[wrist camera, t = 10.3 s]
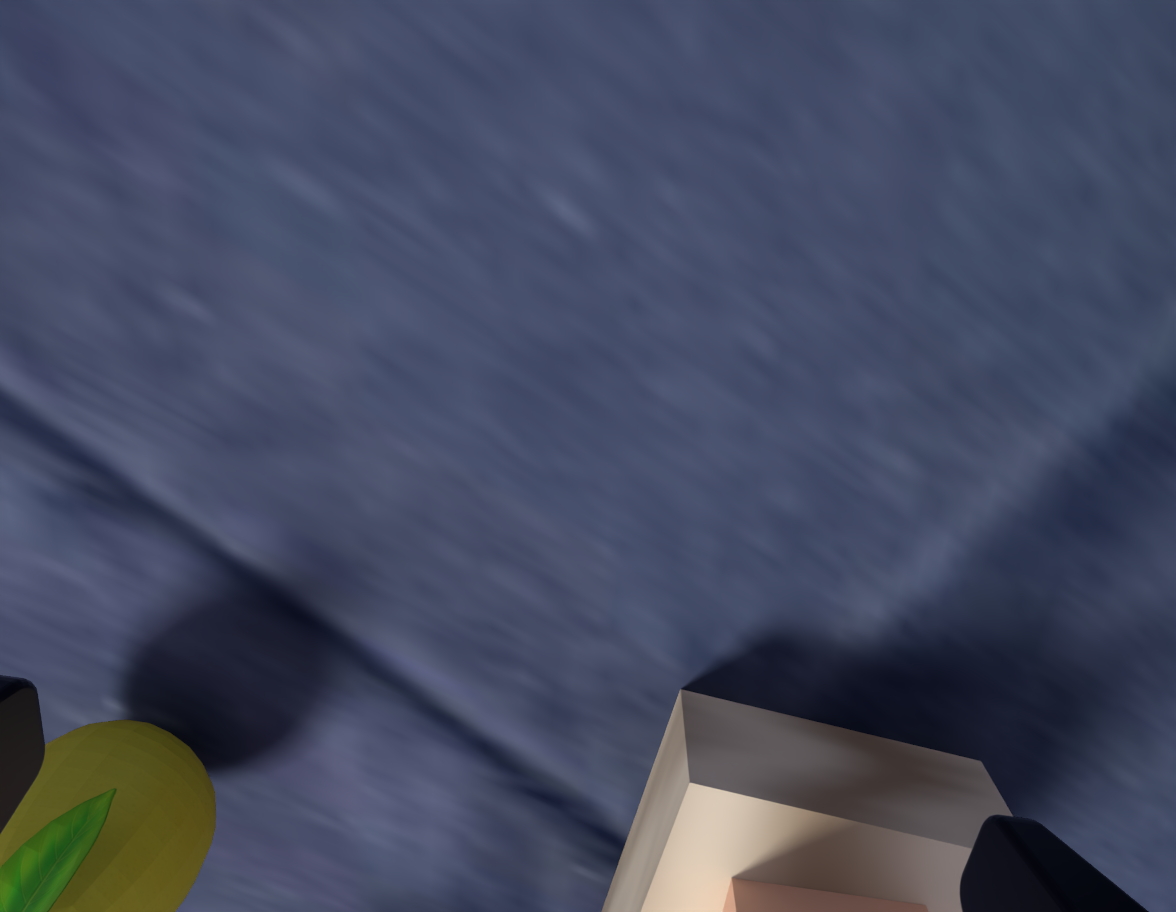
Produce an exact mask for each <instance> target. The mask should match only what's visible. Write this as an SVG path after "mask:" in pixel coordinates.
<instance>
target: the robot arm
mask: <svg viewBox="0 0 1176 912" xmlns="http://www.w3.org/2000/svg"><path fill="white" fill-rule="evenodd" d="M44 755H45V742H44V735H43V728H42V721H41V713H40V706H39V699H38V693H37V689H36V687H35V686H34V684H33V683H32V682H31V681H29V680H27V679H24V678H18V677H11V676H3V675H0V834H1V832H2V831H3V829H4V828H5V826H6V825H7V823H8V821H9V820H10V818H11V817H12V815H13V814H14V812H15V810H16V809H17V807H18V806H19V804H20V803H21V801H22V799H23V798H24V796H25V795H26V793H27V792H28V790H29V789H30V787H31V785H32V784H33V782H34V781H35V779H36V777H37V775H38V774H39V771H40V769H41V767H42V764H43V760H44ZM959 894H960V903H961V908H962V912H1148V911H1147V910H1146V909H1145V908H1144V907H1142V906H1141V905H1140V904H1139V903H1137V902H1136V901H1135V900H1134V899H1133V898H1131V897H1130V896H1129V895H1128V894H1126V893H1125V892H1124V891H1123V890H1121V889H1120V888H1119V887H1118V886H1117V885H1115V884H1114V883H1113V882H1112V881H1110V880H1109V879H1108V878H1107V877H1106V876H1104V875H1103V874H1102V873H1101V872H1099V871H1098V870H1097V869H1096V868H1095V867H1093V866H1092V865H1091V864H1090V863H1088V862H1087V861H1086V860H1085V859H1084V858H1082V857H1081V856H1080V855H1079V854H1077V853H1076V852H1075V851H1074V850H1072V849H1071V848H1070V847H1069V846H1068V845H1066V844H1065V843H1064V842H1063V841H1061V840H1060V839H1059V838H1058V837H1057V836H1055V835H1054V834H1053V833H1052V832H1050V831H1049V830H1048V829H1047V828H1046V827H1044V826H1043V825H1042V824H1040V823H1039V822H1037V821H1035V820H1032V819H1028V818H1020V817H1013V816H1006V815H999V814H997V815H991V816H989V817H988V818H987V819H986V820H985V821H984V822H983V824H982V826H981V828H980V831H979V833H978V836H977V838H976V841H975V843H974V846H973V848H972V851H971V853H970V856H969V858H968V860H967V863H966V865H965V868H964V870H963V873H962V876H961V880H960V892H959Z"/></svg>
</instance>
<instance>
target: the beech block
mask: <svg viewBox="0 0 1176 912" xmlns="http://www.w3.org/2000/svg"><path fill="white" fill-rule="evenodd" d="M997 814H999V815H1006V816H1013V815H1012V814H1011V812H1010V810H1009V808H1008V807H1007V805H1006V803H1005V802H1004V800H1003V798H1002V796H1001V795H1000V793H999V791H998V789H997V788H996V786H995V784H994V783H993V781H992V779H991V777H990V776H989V774H988V772H987V771H986V769H985V767H984V765H983V764H982V762H981V761H978V760H974V759H970V758H966V757H962V756H957V755H953V754H949V753H945V752H941V751H937V750H932V749H928V748H924V747H920V746H916V745H911V744H907V743H903V742H899V741H895V740H891V739H886V738H882V737H878V736H874V735H870V734H866V733H861V732H857V731H853V730H849V729H845V728H840V727H836V726H832V725H828V724H824V723H820V722H815V721H811V720H807V719H803V718H799V717H795V716H790V715H786V714H782V713H778V712H774V711H769V710H765V709H761V708H757V707H753V706H749V705H744V704H740V703H736V702H732V701H728V700H724V699H719V698H715V697H711V696H707V695H703V694H699V693H694V692H690V691H686V690H682V689H680V692H679V695H678V698H677V700H676V703H675V706H674V709H673V712H672V714H671V717H670V720H669V723H668V726H667V728H666V731H665V734H664V737H663V740H662V743H661V745H660V748H659V751H658V754H657V757H656V759H655V762H654V765H653V768H652V771H651V773H650V776H649V779H648V782H647V785H646V788H645V790H644V793H643V796H642V799H641V802H640V804H639V807H638V810H637V813H636V816H635V819H634V821H633V824H632V827H631V830H630V833H629V835H628V838H627V841H626V844H625V847H624V849H623V852H622V855H621V858H620V861H619V864H618V866H617V869H616V872H615V875H614V878H613V880H612V883H611V886H610V889H609V892H608V894H607V897H606V900H605V903H604V906H603V909H602V911H601V912H723V908H724V904H725V900H726V897H727V893H728V889H729V885H730V882H731V878H736V879H743V880H750V881H757V882H764V883H771V884H778V885H785V886H792V887H800V888H807V889H814V890H821V891H828V892H835V893H842V894H849V895H856V896H863V897H871V898H878V899H885V900H892V901H899V902H906V903H913V904H920V905H926V907H927V909H928V912H962V908H961V903H960V894H959V892H960V880H961V876H962V873H963V870H964V868H965V865H966V863H967V860H968V858H969V856H970V853H971V851H972V848H973V846H974V843H975V841H976V838H977V836H978V833H979V831H980V828H981V826H982V824H983V822H984V821H985V820H986V819H987V818H988V817H989V816H991V815H997Z"/></svg>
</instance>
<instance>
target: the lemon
mask: <svg viewBox="0 0 1176 912" xmlns="http://www.w3.org/2000/svg"><path fill="white" fill-rule="evenodd" d="M215 823H216V805H215V791H214V788H213V785H212V782H211V780H210V778H209V776H208V774H207V772H206V770H205V768H204V765H203V763H202V762H201V761H200V760H199V758H198V757H197V756H196V755H195V753H194V752H193V751H192V750H191V748H190V747H189V746H188V745H186V744H185V743H184V742H182V741H181V740H179V739H178V738H177V737H175V736H174V735H173V734H171V733H170V732H167V731H165V730H163V729H161V728H159V727H157V726H155V725H153V724H150V723H146V722H139V721H133V720H116V721H108V722H101V723H93V724H88V725H85V726H83V727H80V728H78V729H75V730H73V731H71V732H69V733H67V734H65V735H63V736H61V737H59V738H57V739H55V740H53V741H51V742H49V743H47V744H46V745H45V755H44V760H43V764H42V767H41V769H40V771H39V774H38V775H37V777H36V779H35V781H34V782H33V784H32V785H31V787H30V789H29V790H28V792H27V793H26V795H25V796H24V798H23V799H22V801H21V803H20V804H19V806H18V807H17V809H16V810H15V812H14V814H13V815H12V817H11V818H10V820H9V821H8V823H7V825H6V826H5V828H4V829H3V831H2V832H1V834H0V912H175V911H176V910H177V909H178V907H179V906H180V905H181V903H182V902H183V901H184V899H185V897H186V896H187V894H188V892H189V891H190V889H191V887H192V886H193V884H194V882H195V880H196V878H197V875H198V873H199V871H200V868H201V866H202V864H203V862H204V859H205V857H206V855H207V852H208V850H209V848H210V846H211V843H212V839H213V835H214V831H215Z"/></svg>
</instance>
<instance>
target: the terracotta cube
mask: <svg viewBox="0 0 1176 912" xmlns="http://www.w3.org/2000/svg"><path fill="white" fill-rule="evenodd" d="M723 912H928V909H927V907H926V905H920V904H913V903H906V902H899V901H892V900H885V899H878V898H871V897H863V896H856V895H849V894H842V893H835V892H828V891H821V890H814V889H807V888H800V887H792V886H785V885H778V884H771V883H764V882H757V881H750V880H743V879H736V878H731V882H730V885H729V889H728V893H727V897H726V900H725V904H724V908H723Z"/></svg>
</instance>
